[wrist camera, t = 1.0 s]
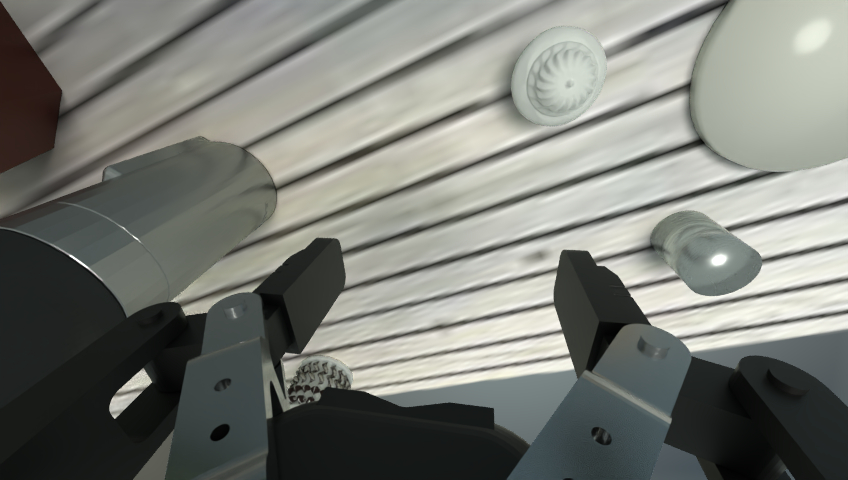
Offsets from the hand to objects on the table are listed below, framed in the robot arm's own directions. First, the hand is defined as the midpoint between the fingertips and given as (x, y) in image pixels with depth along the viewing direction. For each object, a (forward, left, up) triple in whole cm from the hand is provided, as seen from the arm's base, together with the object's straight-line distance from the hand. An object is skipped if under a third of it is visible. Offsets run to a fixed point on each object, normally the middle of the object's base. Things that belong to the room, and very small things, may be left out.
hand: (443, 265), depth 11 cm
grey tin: (+22, +6, -19) cm, 30 cm away
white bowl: (+16, +20, -19) cm, 32 cm away
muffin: (+2, +8, -20) cm, 21 cm away
